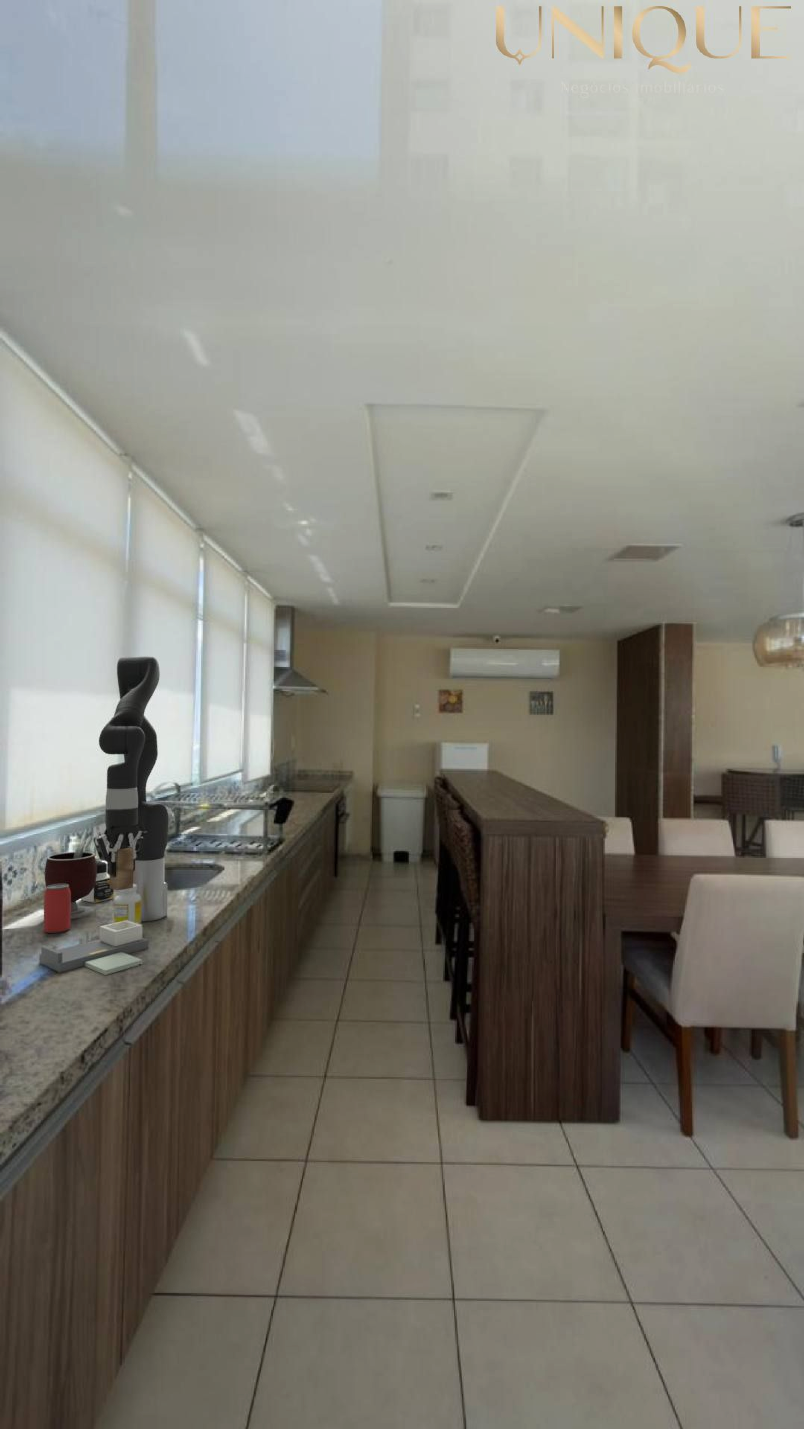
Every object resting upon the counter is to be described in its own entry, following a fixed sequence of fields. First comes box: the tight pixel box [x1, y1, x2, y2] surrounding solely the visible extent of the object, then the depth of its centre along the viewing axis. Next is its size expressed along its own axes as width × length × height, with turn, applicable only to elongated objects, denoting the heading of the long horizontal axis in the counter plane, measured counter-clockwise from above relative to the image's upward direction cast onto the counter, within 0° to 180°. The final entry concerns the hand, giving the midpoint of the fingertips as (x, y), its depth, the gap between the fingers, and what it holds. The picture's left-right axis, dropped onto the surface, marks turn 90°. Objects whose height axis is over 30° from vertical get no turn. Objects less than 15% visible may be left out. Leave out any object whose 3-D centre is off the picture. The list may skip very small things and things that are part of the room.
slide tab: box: [99, 920, 143, 946], centre depth 173 cm, size 7×7×4 cm
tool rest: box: [84, 952, 143, 976], centre depth 161 cm, size 9×9×1 cm
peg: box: [110, 846, 133, 891], centre depth 173 cm, size 4×4×10 cm
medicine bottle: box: [80, 860, 115, 904], centre depth 222 cm, size 7×7×12 cm
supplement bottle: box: [113, 884, 142, 925], centre depth 185 cm, size 7×7×13 cm
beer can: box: [43, 884, 72, 934], centre depth 188 cm, size 7×7×12 cm
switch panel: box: [38, 937, 150, 973], centre depth 168 cm, size 22×10×4 cm, turn 142°
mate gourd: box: [44, 840, 97, 920], centre depth 206 cm, size 16×14×20 cm
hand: (121, 874), depth 173 cm, fingers closed on peg, 4 cm apart
